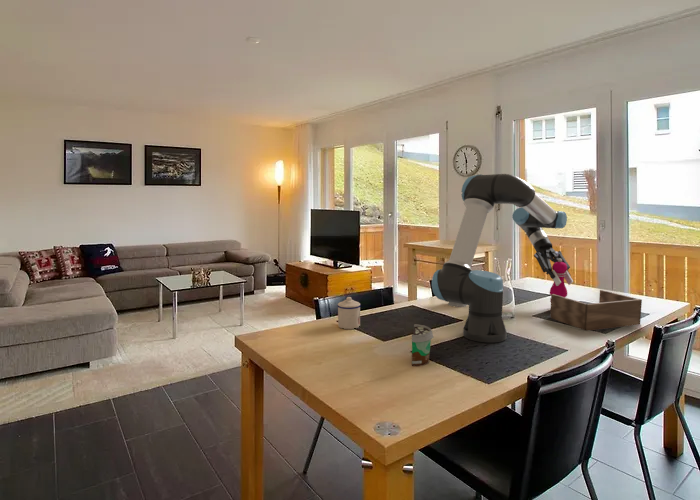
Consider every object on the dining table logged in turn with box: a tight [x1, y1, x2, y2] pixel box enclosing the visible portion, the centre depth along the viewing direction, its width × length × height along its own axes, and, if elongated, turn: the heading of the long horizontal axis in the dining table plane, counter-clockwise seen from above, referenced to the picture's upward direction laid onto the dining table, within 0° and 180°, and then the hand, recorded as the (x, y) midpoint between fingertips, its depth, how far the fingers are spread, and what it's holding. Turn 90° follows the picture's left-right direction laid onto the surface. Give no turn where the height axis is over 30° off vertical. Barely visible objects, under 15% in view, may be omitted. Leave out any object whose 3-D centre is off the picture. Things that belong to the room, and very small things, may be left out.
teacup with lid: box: [337, 296, 362, 330], centre depth 175 cm, size 12×9×12 cm
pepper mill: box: [549, 258, 568, 303], centre depth 196 cm, size 7×7×20 cm
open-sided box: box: [549, 289, 643, 332], centre depth 178 cm, size 19×26×10 cm
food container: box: [411, 323, 434, 367], centre depth 137 cm, size 12×6×10 cm, turn 168°
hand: (565, 283), depth 193 cm, fingers closed on pepper mill, 6 cm apart
